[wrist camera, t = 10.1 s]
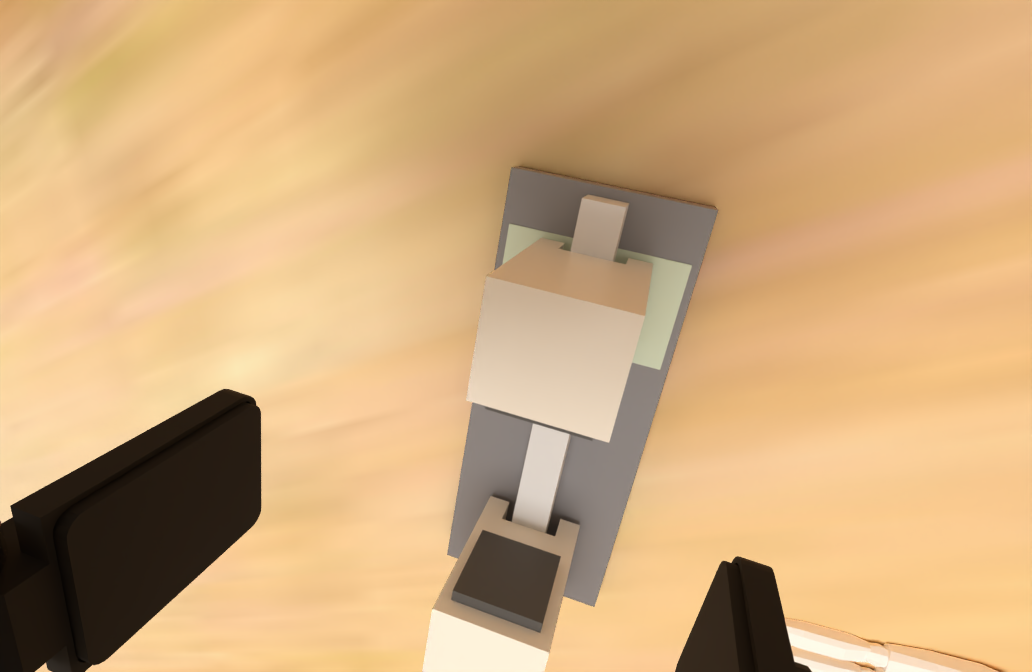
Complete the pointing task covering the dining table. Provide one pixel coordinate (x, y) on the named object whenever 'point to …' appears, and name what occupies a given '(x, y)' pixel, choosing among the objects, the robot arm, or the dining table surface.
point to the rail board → (637, 405)
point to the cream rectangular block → (559, 338)
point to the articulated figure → (865, 653)
